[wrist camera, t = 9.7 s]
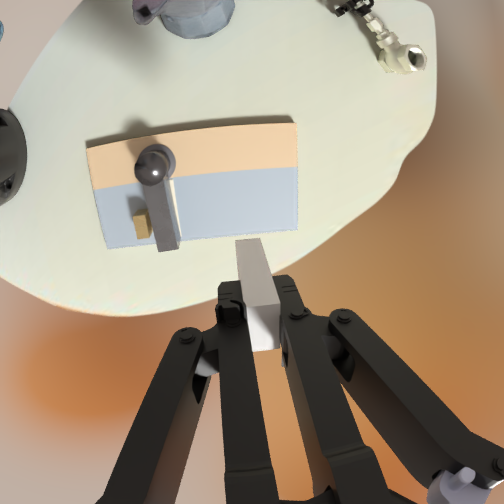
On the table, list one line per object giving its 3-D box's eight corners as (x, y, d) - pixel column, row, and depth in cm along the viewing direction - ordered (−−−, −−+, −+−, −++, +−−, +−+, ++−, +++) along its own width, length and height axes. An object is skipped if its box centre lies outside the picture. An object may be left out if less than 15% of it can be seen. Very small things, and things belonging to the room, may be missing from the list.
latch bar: (139, 152, 32) (131, 157, 29) (167, 146, 32) (162, 150, 29) (158, 241, 38) (153, 253, 34) (185, 237, 38) (182, 249, 35)
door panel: (110, 245, 39) (107, 249, 37) (89, 147, 32) (85, 149, 31) (295, 226, 40) (297, 230, 39) (294, 122, 34) (296, 123, 33)
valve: (410, 62, 31) (357, -4, 26) (439, 59, 25) (380, -18, 20) (383, 85, 32) (325, 17, 27) (410, 84, 26) (345, 2, 22)
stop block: (141, 231, 37) (137, 239, 35) (137, 209, 36) (132, 216, 33) (153, 229, 37) (149, 238, 35) (149, 208, 36) (144, 214, 33)
